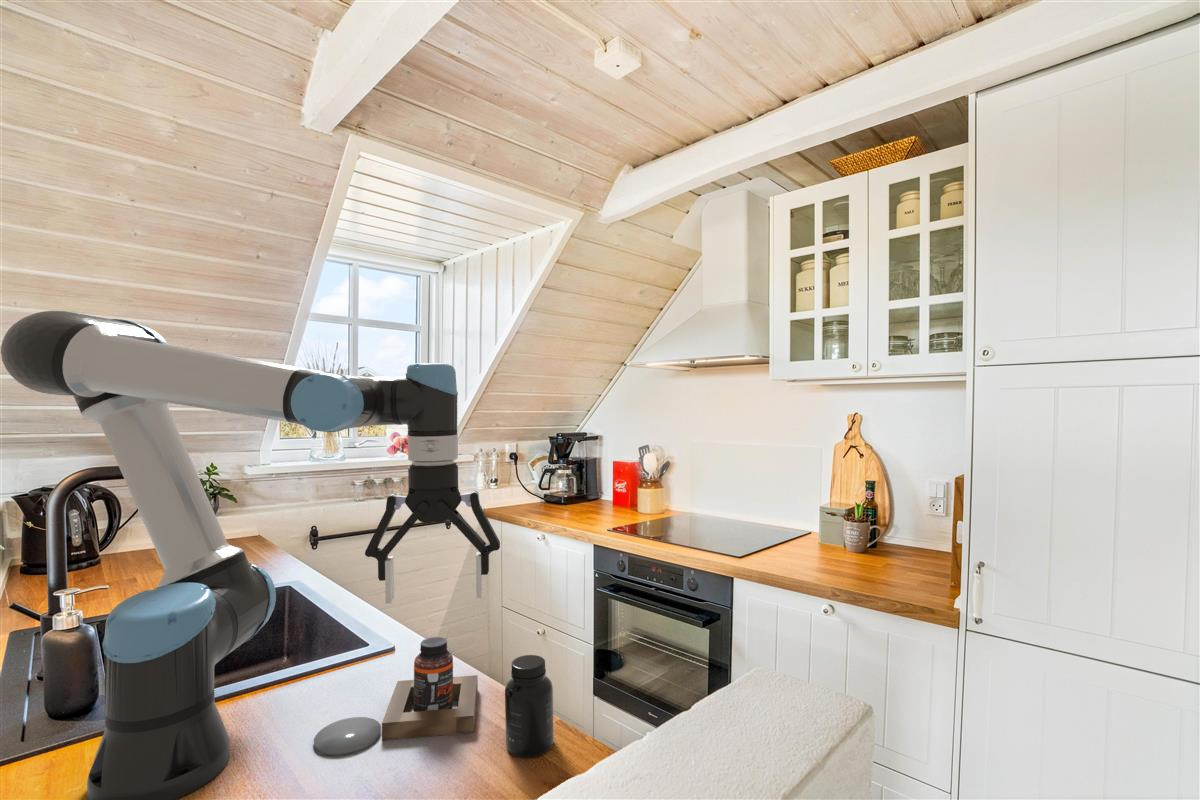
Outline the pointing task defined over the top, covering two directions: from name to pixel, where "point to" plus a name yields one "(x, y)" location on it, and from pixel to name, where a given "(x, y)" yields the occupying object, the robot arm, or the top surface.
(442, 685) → the supplement bottle
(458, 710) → the frame
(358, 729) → the slate coaster
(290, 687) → the top surface
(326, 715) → the top surface
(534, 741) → the supplement bottle
